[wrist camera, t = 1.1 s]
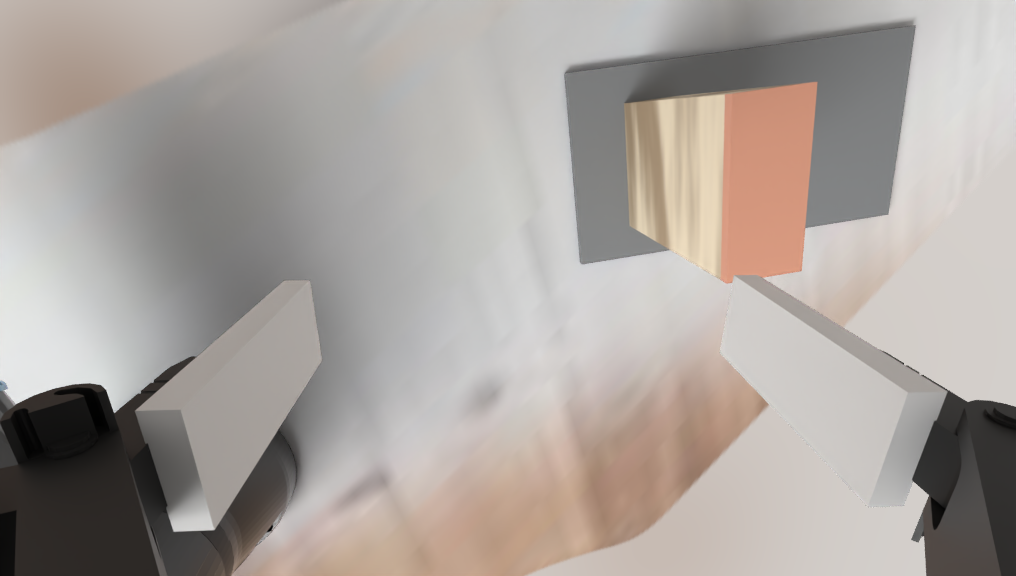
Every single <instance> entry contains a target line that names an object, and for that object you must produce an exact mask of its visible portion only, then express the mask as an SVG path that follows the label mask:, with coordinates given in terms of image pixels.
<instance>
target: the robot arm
mask: <svg viewBox="0 0 1016 576" xmlns="http://www.w3.org/2000/svg"><path fill="white" fill-rule="evenodd" d="M720 354H721V355H722V356H723V357H724V358H725V359H726V360H727V361H728V362H729V363H730V364H731V365H732V366H733V367H734V368H735V369H736V370H737V371H738V372H739V373H740V374H741V376H742V377H743V378H744V379H745V380H746V381H747V382H748V383H749V384H750V385H751V386H752V387H753V388H754V389H755V390H756V391H757V392H758V393H759V394H760V395H761V396H762V397H763V398H764V399H765V400H766V402H767V403H768V404H769V405H770V406H771V407H772V408H773V409H774V410H775V411H776V412H777V413H778V414H779V415H780V416H781V417H782V418H783V419H784V420H785V421H786V422H787V423H788V424H789V425H790V427H791V428H792V429H793V430H794V431H795V432H796V433H797V434H798V435H799V436H800V437H801V438H802V439H803V440H804V441H805V442H806V443H807V444H808V445H809V446H810V447H811V448H812V449H813V450H814V451H815V452H816V454H817V455H818V456H819V457H820V458H821V459H822V460H823V461H824V462H825V463H826V464H827V465H828V466H829V467H830V468H831V469H832V470H833V471H834V472H835V473H836V474H837V475H838V476H839V477H840V478H841V479H842V481H843V482H844V483H845V484H846V485H847V486H848V487H849V488H850V489H851V490H852V491H853V492H854V493H855V494H856V495H857V496H858V497H859V498H860V499H861V500H862V501H863V502H864V504H865V505H866V506H867V507H888V506H904V504H905V501H906V499H907V496H908V493H909V491H910V488H911V486H912V483H913V481H914V482H915V483H916V484H917V485H918V486H919V487H920V488H922V489H923V490H924V491H925V492H926V493H927V494H929V497H928V500H927V503H926V505H925V507H924V509H923V512H922V515H921V517H920V519H919V522H918V524H917V527H916V529H915V532H914V534H913V537H912V540H913V541H916V542H919V540H920V538H921V536H924V540H925V558H926V575H927V576H1016V407H1014V406H1010V405H1007V404H1003V403H997V402H993V401H983V400H974V401H970V402H967V401H965V400H963V399H962V398H960V397H958V396H957V395H955V394H953V393H951V392H950V391H948V390H947V389H945V388H944V387H942V386H940V385H939V384H937V383H935V382H934V381H932V380H930V379H929V378H927V377H926V376H924V375H920V374H919V372H917V371H915V370H914V369H912V368H910V367H909V366H905V365H904V363H903V362H901V361H899V360H898V359H896V358H894V357H893V356H891V355H889V354H888V353H886V352H884V351H881V350H879V349H877V348H876V347H874V346H872V345H871V344H869V343H867V342H866V341H864V340H863V339H861V338H859V337H858V336H856V335H854V334H853V333H851V332H849V331H848V330H846V329H845V328H843V327H841V326H840V325H838V324H837V323H835V322H833V321H832V320H830V319H828V318H827V317H825V316H823V315H822V314H820V313H819V312H817V311H815V310H814V309H812V308H810V307H809V306H807V305H806V304H804V303H802V302H801V301H799V300H797V299H796V298H794V297H793V296H791V295H789V294H788V293H786V292H784V291H783V290H781V289H779V288H778V287H776V286H775V285H773V284H771V283H770V282H768V281H766V280H765V279H763V278H762V277H760V276H758V275H734V277H733V282H732V288H731V293H730V299H729V304H728V310H727V315H726V321H725V326H724V332H723V337H722V343H721V348H720ZM321 362H322V356H321V349H320V342H319V336H318V329H317V322H316V316H315V309H314V302H313V296H312V289H311V282H310V280H284V281H283V282H282V283H281V284H280V285H278V286H277V287H276V288H275V289H274V290H273V291H272V292H270V293H269V294H268V295H267V296H266V297H265V298H264V299H262V300H261V301H260V302H259V303H258V304H257V305H256V306H254V307H253V308H252V309H251V310H250V311H249V312H248V313H246V314H245V315H244V316H243V317H242V318H241V319H239V320H238V321H237V322H236V323H235V324H234V325H233V326H231V327H230V328H229V329H228V330H227V331H226V332H225V333H223V334H222V335H221V336H220V337H219V338H218V339H217V340H215V341H214V342H213V343H212V344H211V345H210V346H209V347H207V348H206V349H205V350H204V351H203V352H202V353H201V354H199V355H198V356H197V357H190V358H188V359H186V360H184V361H182V362H180V363H178V364H176V365H174V366H172V367H170V368H168V369H167V370H166V371H165V372H163V373H162V374H161V375H160V376H159V377H157V378H156V379H155V380H154V383H150V384H149V385H148V386H147V387H145V388H144V389H143V390H142V391H141V394H137V395H136V396H135V397H133V398H132V399H131V400H130V401H129V402H127V403H126V404H125V405H124V406H123V407H121V408H120V409H119V410H118V411H117V412H115V413H114V412H113V409H112V406H111V403H110V401H109V398H108V395H107V392H106V390H105V389H104V388H103V387H102V386H101V385H96V384H90V383H89V384H75V385H69V386H65V387H60V388H55V389H52V390H49V391H46V392H43V393H40V394H37V395H34V396H32V397H30V398H28V399H26V400H24V401H22V402H20V403H18V404H15V403H14V402H13V401H12V400H11V398H10V397H9V396H8V395H7V394H6V392H5V391H4V390H5V389H8V387H7V385H6V384H5V383H4V382H3V381H0V576H231V575H232V573H233V572H234V571H235V570H236V569H237V568H238V567H239V566H240V565H241V564H242V563H243V562H244V561H245V559H246V558H247V557H248V556H249V555H250V553H251V552H252V551H253V549H254V547H255V546H257V545H258V544H259V543H261V542H262V541H263V540H264V539H265V538H266V537H267V536H268V535H269V534H270V533H271V532H272V531H273V530H274V529H275V527H276V526H277V525H278V523H279V522H280V520H281V519H282V517H283V515H284V513H285V511H286V508H287V506H288V504H289V501H290V499H291V497H292V494H293V491H294V488H295V483H296V465H295V460H294V457H293V454H292V452H291V449H290V447H289V445H288V444H287V442H286V440H285V439H284V437H283V436H282V435H281V433H280V432H279V431H278V429H279V428H280V426H281V425H282V423H283V421H284V420H285V418H286V417H287V415H288V414H289V412H290V410H291V409H292V407H293V406H294V404H295V402H296V401H297V399H298V398H299V396H300V395H301V393H302V391H303V390H304V388H305V387H306V385H307V384H308V382H309V380H310V379H311V377H312V376H313V374H314V373H315V371H316V369H317V368H318V366H319V365H320V363H321Z"/></svg>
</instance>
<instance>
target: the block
mask: <svg viewBox="0 0 1016 576" xmlns="http://www.w3.org/2000/svg"><path fill="white" fill-rule="evenodd" d="M817 83H818V82H809V83H799V84H789V85H780V86H770V87H760V88H750V89H740V90H731V91H721V92H711V93H701V94H691V95H681V96H673V97H666V98H659V99H652V100H645V101H638V102H631V103H624V112H625V135H626V157H627V179H628V202H629V224H630V226H631V227H632V228H634V229H636V230H637V231H639V232H641V233H642V234H644V235H646V236H647V237H649V238H651V239H653V240H654V241H656V242H658V243H659V244H661V245H663V246H664V247H666V248H668V249H669V250H671V251H673V252H674V253H676V254H678V255H679V256H681V257H683V258H685V259H686V260H688V261H690V262H691V263H693V264H695V265H696V266H698V267H700V268H701V269H703V270H705V271H706V272H708V273H710V274H712V275H713V276H715V277H717V278H718V279H720V280H722V281H723V282H725V283H732V282H733V277H734V275H758V276H760V277H762V278H763V277H769V276H775V275H781V274H787V273H793V272H799V271H802V259H803V248H804V236H805V224H806V212H807V200H808V189H809V177H810V165H811V153H812V142H813V130H814V118H815V106H816V94H817Z"/></svg>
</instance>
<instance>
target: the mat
mask: <svg viewBox="0 0 1016 576" xmlns="http://www.w3.org/2000/svg"><path fill="white" fill-rule="evenodd" d="M915 26H916V25H915ZM915 26H907V27H900V28H893V29H885V30H878V31H871V32H863V33H856V34H849V35H841V36H834V37H827V38H820V39H812V40H805V41H798V42H790V43H783V44H776V45H768V46H761V47H754V48H746V49H739V50H732V51H725V52H717V53H710V54H703V55H695V56H688V57H681V58H673V59H666V60H659V61H651V62H644V63H637V64H630V65H622V66H615V67H608V68H600V69H593V70H586V71H578V72H571V73H566V74H565V86H566V98H567V110H568V122H569V134H570V146H571V158H572V170H573V182H574V194H575V206H576V218H577V230H578V242H579V254H580V263H581V264H587V263H593V262H600V261H606V260H612V259H618V258H624V257H630V256H636V255H643V254H649V253H655V252H661V251H667V250H669V249H668V248H666V247H664V246H663V245H661V244H659V243H658V242H656V241H654V240H653V239H651V238H649V237H647V236H646V235H644V234H642V233H641V232H639V231H637V230H636V229H634V228H632V227H631V226H630V224H629V202H628V179H627V157H626V135H625V112H624V103H631V102H638V101H645V100H652V99H659V98H666V97H673V96H681V95H691V94H701V93H711V92H721V91H731V90H740V89H750V88H760V87H770V86H780V85H789V84H799V83H809V82H818V83H817V94H816V106H815V118H814V130H813V142H812V153H811V165H810V177H809V189H808V200H807V212H806V224H805V228H808V227H814V226H820V225H827V224H833V223H839V222H845V221H851V220H857V219H863V218H870V217H876V216H882V215H888V213H889V206H890V199H891V192H892V185H893V178H894V171H895V164H896V157H897V150H898V144H899V137H900V130H901V123H902V116H903V109H904V102H905V95H906V88H907V81H908V75H909V68H910V61H911V54H912V47H913V40H914V33H915Z"/></svg>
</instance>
